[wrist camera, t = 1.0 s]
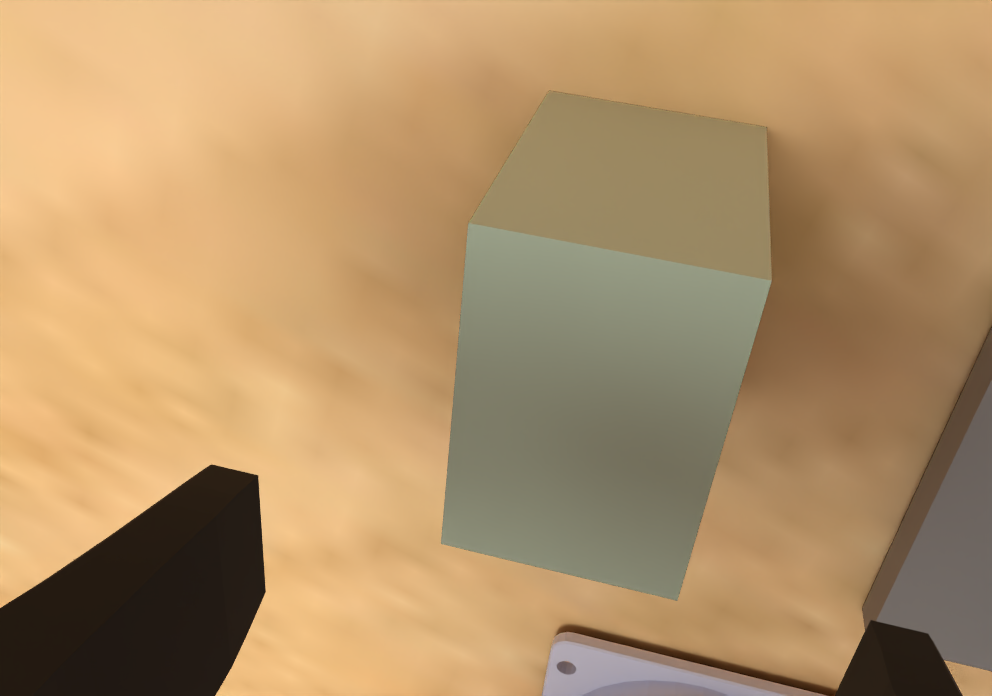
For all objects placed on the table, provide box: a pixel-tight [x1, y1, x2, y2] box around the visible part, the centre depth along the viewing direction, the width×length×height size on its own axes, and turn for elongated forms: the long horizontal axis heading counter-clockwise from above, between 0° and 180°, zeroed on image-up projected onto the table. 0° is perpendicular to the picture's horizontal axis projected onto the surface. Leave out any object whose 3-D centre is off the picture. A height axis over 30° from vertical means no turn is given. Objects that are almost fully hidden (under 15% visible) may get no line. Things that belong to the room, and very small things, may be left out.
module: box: [441, 91, 772, 601], centre depth 16 cm, size 6×4×6 cm, turn 174°
